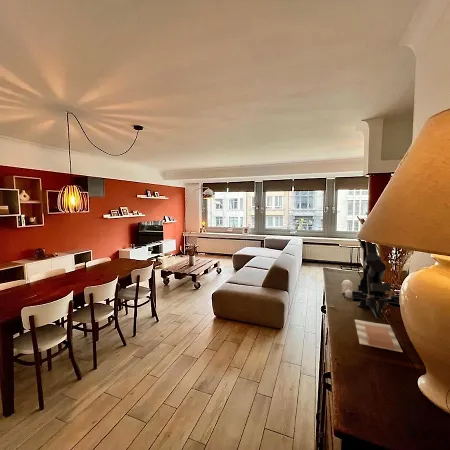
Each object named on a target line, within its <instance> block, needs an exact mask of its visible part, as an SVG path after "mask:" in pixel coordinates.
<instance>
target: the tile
mask: <svg viewBox="0 0 450 450" xmlns="http://www.w3.org/2000/svg"><path fill="white" fill-rule="evenodd" d="M365 333H366V337H367V341H368V344H369V345H374V346H379V347H384V348H389V349H393V341H392V339H391V337H390V334H389V332H388V330H387V328H382V327H376V326H371V325H365ZM384 348H383V349H384ZM389 349H388V350H389Z"/></svg>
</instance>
